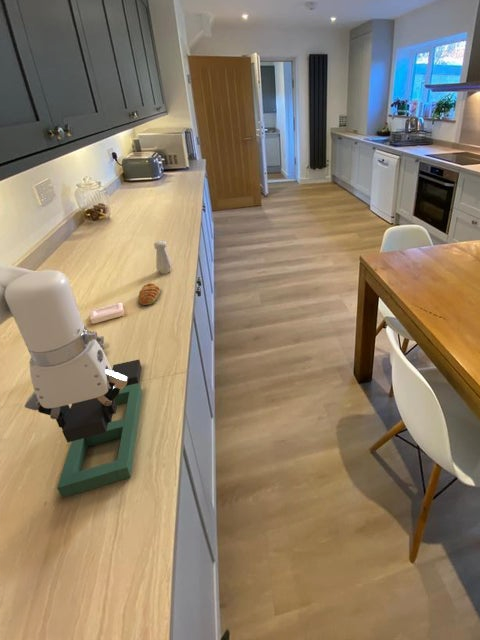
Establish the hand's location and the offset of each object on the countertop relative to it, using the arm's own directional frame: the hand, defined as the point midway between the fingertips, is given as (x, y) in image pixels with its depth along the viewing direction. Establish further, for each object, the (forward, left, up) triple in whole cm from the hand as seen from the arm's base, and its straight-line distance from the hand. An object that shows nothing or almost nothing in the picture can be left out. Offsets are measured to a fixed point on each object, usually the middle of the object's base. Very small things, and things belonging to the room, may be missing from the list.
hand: (90, 420), depth 59 cm
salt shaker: (+8, +74, -11) cm, 76 cm away
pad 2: (+1, +19, -11) cm, 22 cm away
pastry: (+4, +56, -11) cm, 58 cm away
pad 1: (0, 0, -1) cm, 1 cm away
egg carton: (-9, +30, -11) cm, 33 cm away
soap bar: (-8, +49, -11) cm, 51 cm away
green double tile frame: (0, +4, -11) cm, 11 cm away
